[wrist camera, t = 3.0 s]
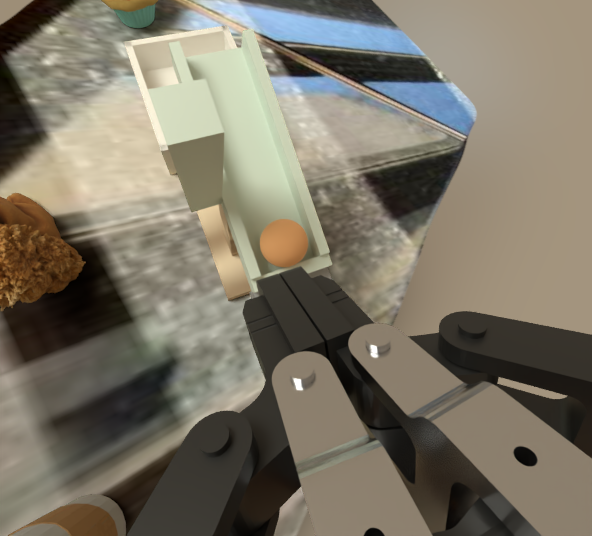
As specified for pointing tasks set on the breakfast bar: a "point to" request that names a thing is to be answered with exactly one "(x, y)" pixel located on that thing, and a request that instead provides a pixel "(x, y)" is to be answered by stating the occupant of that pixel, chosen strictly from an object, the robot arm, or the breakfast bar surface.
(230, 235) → the fulcrum stand
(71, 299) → the breakfast bar surface
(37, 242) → the stuffed squirrel
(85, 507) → the coffee cup
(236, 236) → the tilting chute
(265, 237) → the ball
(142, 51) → the tub
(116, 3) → the cupcake
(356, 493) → the robot arm
